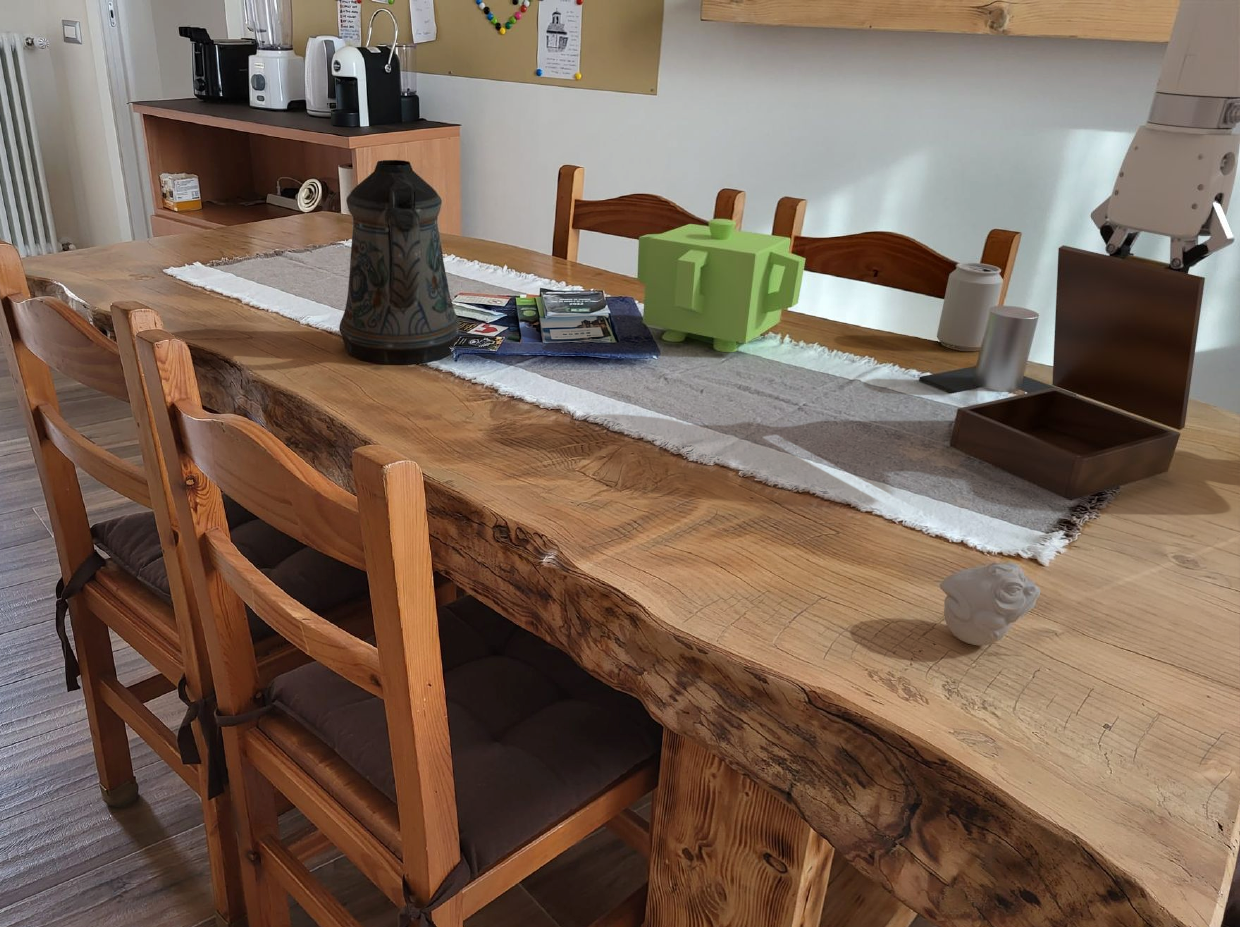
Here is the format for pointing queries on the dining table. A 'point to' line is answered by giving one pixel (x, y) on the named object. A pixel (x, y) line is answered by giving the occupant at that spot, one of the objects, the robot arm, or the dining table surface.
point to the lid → (1126, 333)
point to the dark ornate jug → (397, 272)
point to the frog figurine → (987, 601)
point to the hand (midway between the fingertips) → (1137, 296)
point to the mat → (964, 381)
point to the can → (968, 305)
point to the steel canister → (1005, 348)
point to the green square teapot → (717, 282)
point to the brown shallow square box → (1064, 442)
